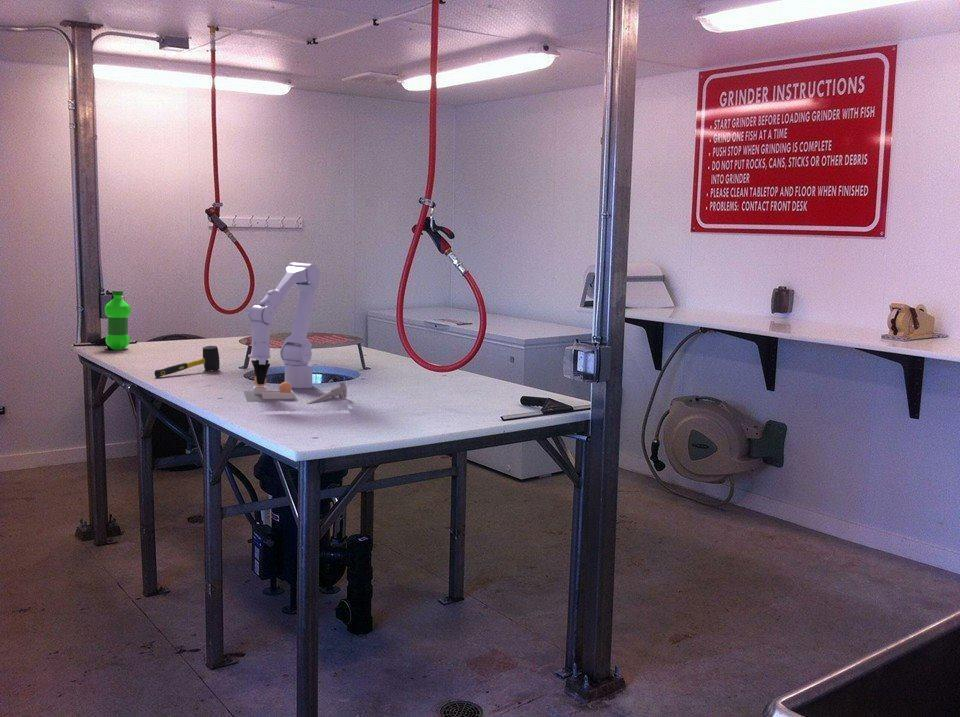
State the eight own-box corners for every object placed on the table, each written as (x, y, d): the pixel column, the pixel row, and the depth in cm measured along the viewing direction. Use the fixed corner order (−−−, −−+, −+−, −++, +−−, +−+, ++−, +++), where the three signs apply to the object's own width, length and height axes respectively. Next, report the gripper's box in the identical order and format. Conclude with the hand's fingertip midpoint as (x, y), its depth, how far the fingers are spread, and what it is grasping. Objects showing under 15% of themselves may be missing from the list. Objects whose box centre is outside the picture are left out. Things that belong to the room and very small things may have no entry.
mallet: (161, 379, 314) (161, 352, 313) (150, 377, 317) (150, 351, 316) (223, 370, 340) (223, 346, 338) (211, 369, 342) (212, 344, 341)
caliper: (344, 399, 297) (344, 380, 296) (346, 399, 296) (347, 381, 295) (303, 407, 279) (304, 388, 278) (306, 408, 278) (306, 388, 278)
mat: (292, 393, 300) (292, 390, 300) (298, 404, 283) (298, 401, 283) (243, 394, 295) (243, 391, 294) (247, 404, 278) (247, 401, 278)
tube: (265, 392, 295) (265, 386, 295) (266, 394, 291) (267, 388, 291) (252, 392, 294) (253, 386, 293) (253, 394, 290) (253, 388, 289)
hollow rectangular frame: (291, 396, 290) (292, 390, 290) (293, 398, 286) (293, 392, 286) (261, 396, 287) (262, 390, 287) (263, 399, 283) (263, 392, 283)
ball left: (290, 392, 290) (291, 380, 289) (292, 395, 286) (292, 382, 285) (278, 392, 288) (278, 380, 288) (279, 395, 284) (279, 382, 284)
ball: (265, 384, 295) (266, 373, 294) (266, 387, 291) (267, 375, 290) (253, 385, 293) (253, 373, 293) (254, 387, 290) (254, 375, 289)
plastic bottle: (135, 349, 381) (135, 291, 378) (112, 350, 373) (112, 291, 370) (122, 346, 388) (122, 289, 384) (100, 348, 379) (99, 290, 376)
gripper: (246, 339, 296) (246, 379, 297) (249, 344, 282) (249, 386, 284) (268, 339, 298) (267, 378, 300) (272, 345, 284) (271, 386, 286)
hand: (260, 382), depth 292 cm, fingers closed on ball, 4 cm apart
